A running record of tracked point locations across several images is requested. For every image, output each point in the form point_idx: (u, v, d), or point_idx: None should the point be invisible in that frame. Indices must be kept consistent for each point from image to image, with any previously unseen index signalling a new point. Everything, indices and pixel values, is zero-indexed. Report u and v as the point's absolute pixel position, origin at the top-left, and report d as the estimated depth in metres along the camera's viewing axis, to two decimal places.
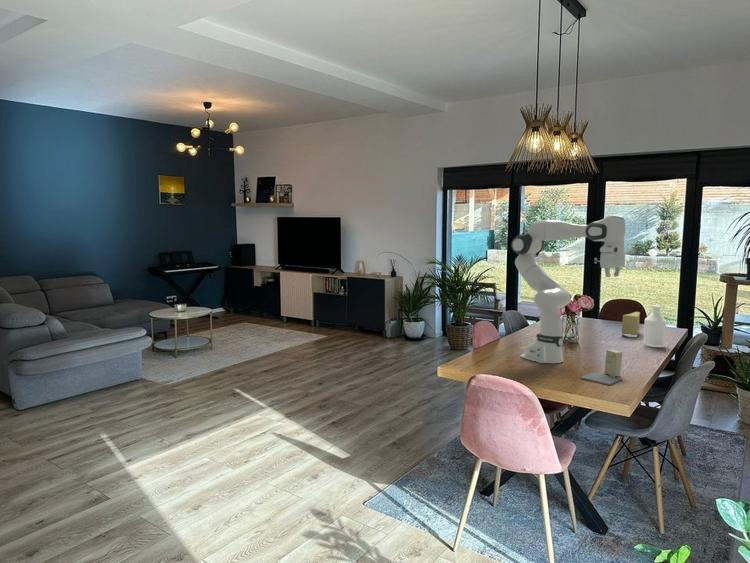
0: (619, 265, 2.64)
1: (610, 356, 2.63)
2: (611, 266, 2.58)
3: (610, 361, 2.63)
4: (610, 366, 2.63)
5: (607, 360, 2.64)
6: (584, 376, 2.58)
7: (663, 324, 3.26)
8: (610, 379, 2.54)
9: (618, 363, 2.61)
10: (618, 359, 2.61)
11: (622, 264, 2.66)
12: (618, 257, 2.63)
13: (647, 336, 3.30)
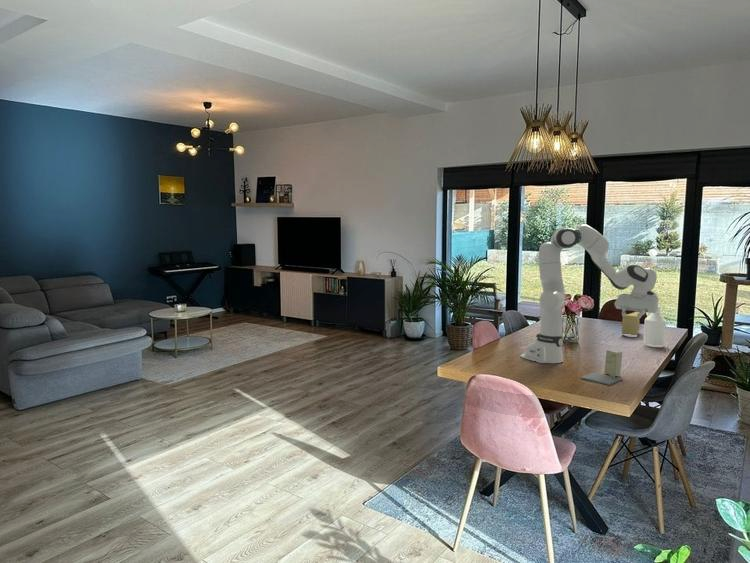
0: None
1: (610, 356, 2.63)
2: None
3: (610, 361, 2.63)
4: (610, 366, 2.63)
5: (607, 360, 2.64)
6: (584, 376, 2.58)
7: (663, 324, 3.26)
8: (610, 379, 2.54)
9: (618, 363, 2.61)
10: (618, 359, 2.61)
11: None
12: None
13: (647, 336, 3.30)
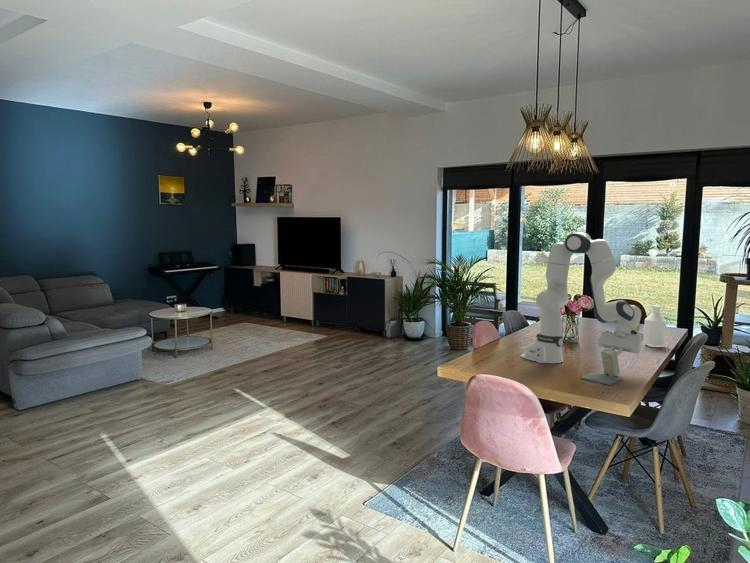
0: None
1: (606, 357, 2.61)
2: None
3: (607, 362, 2.62)
4: (608, 367, 2.62)
5: (604, 361, 2.63)
6: (584, 376, 2.58)
7: (663, 324, 3.26)
8: (610, 379, 2.54)
9: (615, 362, 2.60)
10: (614, 359, 2.59)
11: None
12: None
13: (647, 336, 3.30)
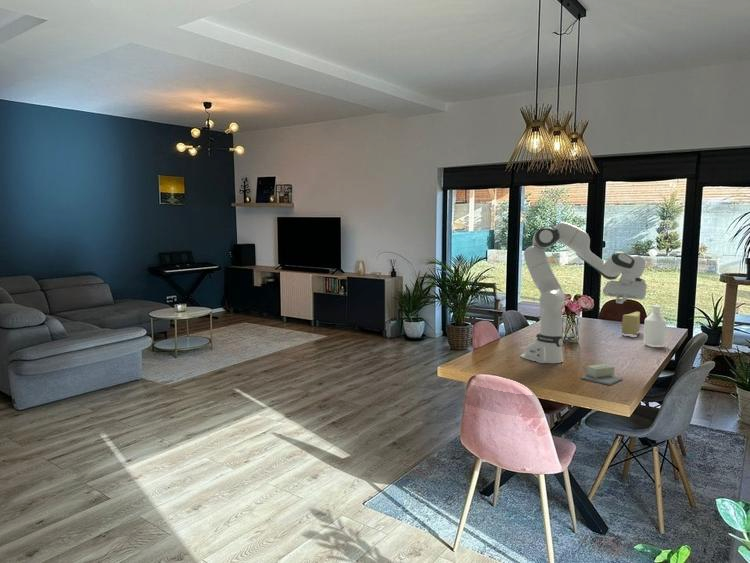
0: None
1: None
2: None
3: None
4: None
5: None
6: (584, 376, 2.58)
7: (663, 324, 3.26)
8: (610, 379, 2.54)
9: (604, 371, 2.58)
10: (601, 373, 2.57)
11: None
12: None
13: (647, 336, 3.30)
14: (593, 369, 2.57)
